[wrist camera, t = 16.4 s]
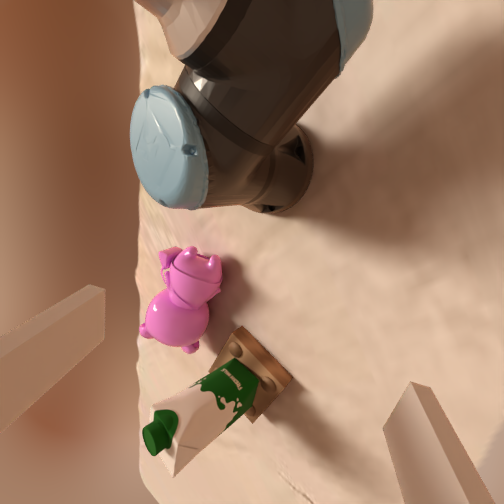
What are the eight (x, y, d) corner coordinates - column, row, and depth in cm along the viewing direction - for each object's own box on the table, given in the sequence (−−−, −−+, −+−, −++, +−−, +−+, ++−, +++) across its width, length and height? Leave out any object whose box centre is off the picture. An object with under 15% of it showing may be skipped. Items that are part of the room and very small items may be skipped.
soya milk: (264, 379, 48) (166, 457, 34) (254, 413, 52) (161, 497, 37) (232, 350, 53) (135, 407, 39) (225, 383, 57) (133, 446, 42)
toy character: (180, 224, 58) (145, 313, 65) (155, 239, 45) (115, 347, 53) (243, 253, 59) (202, 338, 66) (236, 276, 46) (186, 377, 54)
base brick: (220, 362, 62) (207, 372, 59) (243, 324, 56) (230, 333, 52) (262, 410, 57) (251, 424, 54) (294, 375, 51) (283, 389, 47)
